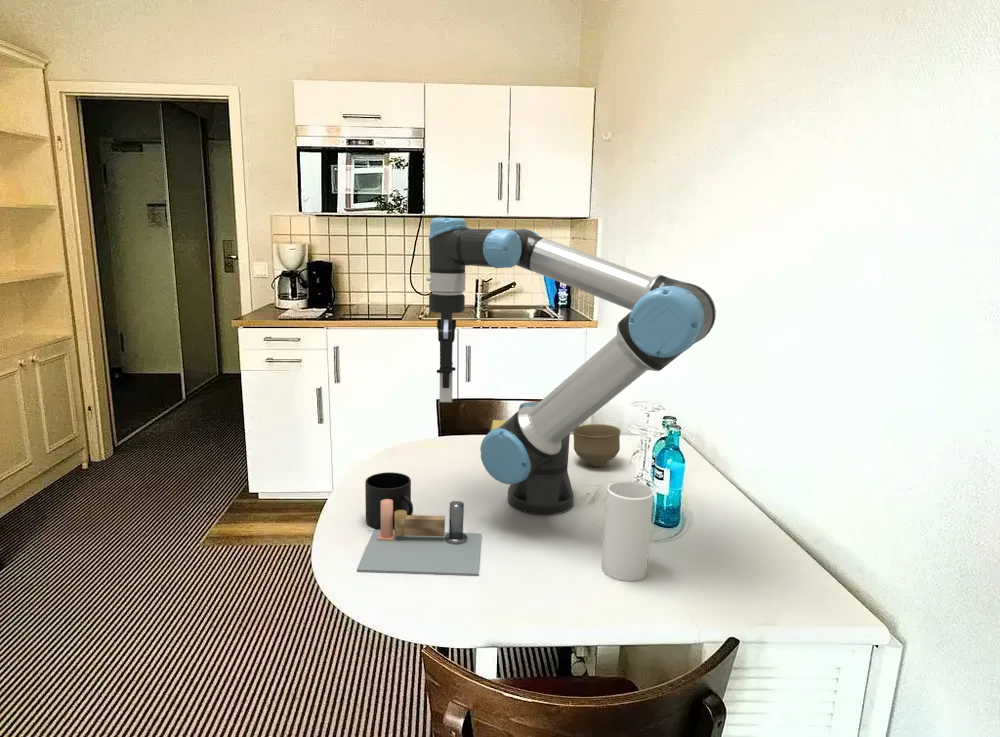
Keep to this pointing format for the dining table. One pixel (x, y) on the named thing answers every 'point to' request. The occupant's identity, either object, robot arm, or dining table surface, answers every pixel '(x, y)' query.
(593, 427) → the bowl
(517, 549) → the dining table surface
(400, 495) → the mug
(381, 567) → the mat
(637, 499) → the cup
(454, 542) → the pivot post
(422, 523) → the gate
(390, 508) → the post
